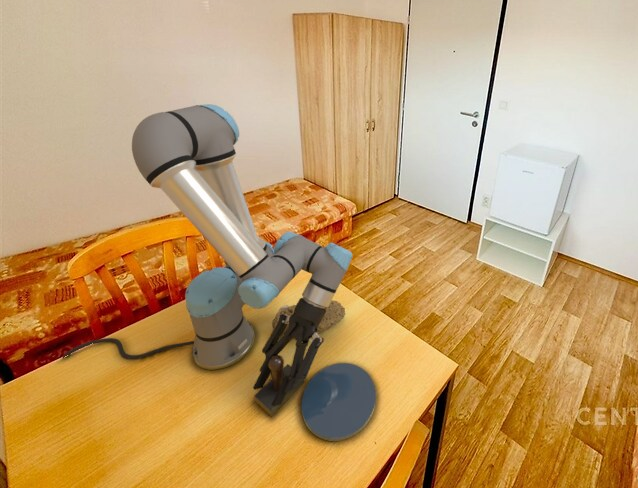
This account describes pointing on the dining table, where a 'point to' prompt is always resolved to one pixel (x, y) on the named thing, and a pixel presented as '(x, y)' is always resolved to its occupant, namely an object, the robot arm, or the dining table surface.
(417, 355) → the dining table surface
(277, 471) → the dining table surface
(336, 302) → the sponge
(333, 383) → the plate
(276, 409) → the stamp
